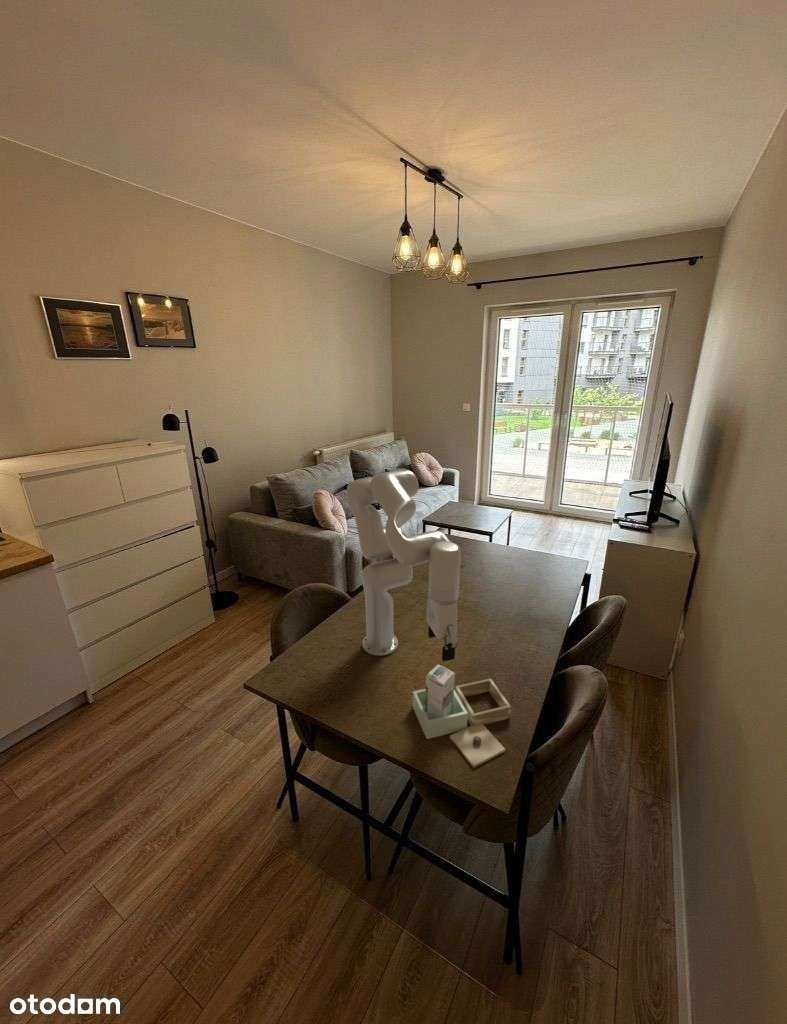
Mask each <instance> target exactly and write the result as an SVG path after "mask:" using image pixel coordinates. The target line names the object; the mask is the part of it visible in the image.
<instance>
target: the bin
mask: <svg viewBox="0 0 787 1024" xmlns="http://www.w3.org/2000/svg"><path fill="white" fill-rule="evenodd" d="M425 690H426V688H424V689H417V690H413V691H412V708H413V710H414V713H415V715H416V718H417V720H418V722H419V725H420V727H421V729H422V732H423V734H424V736H425V738H426V739H425V740H429V739H433V738H437V737H441V736H445V735H448V734H452V733H453V734H454V733H457V732H459V731H461V730H463V729H465V728H467V727H468V719H467V718H468V713H467V711H466V709H465V707H464V706H463V704H462V702H461V701H460V699H459V697H458V695H457V694H456V692H455V689H454V695H453V708H452V714H451V715H448V716H444V717H440V718H435V719H431V720H430V719H429V718H428V717H427V715H426V713H425Z"/></svg>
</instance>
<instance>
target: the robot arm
mask: <svg viewBox="0 0 787 1024" xmlns="http://www.w3.org/2000/svg"><path fill="white" fill-rule="evenodd" d="M419 487H420V486H419V481H418V478H417V476H416V475H415V473H414V472H413V471H411V470H409V469H401V470H400V469H399V470H393V471H386V472H385V471H384V472H380V473H378V474H376V475H374V476H369V477H363V478H359V479H355V480H353V481H351V482H350V483H349V484H348V485H347V487H346V491H345V492H346V494H345V495H346V500H347V505H348V506H349V509H350V511H351V513H352V515H353V517H354V521H355V524H356V525H355V526H356V531H357V536H358V540H359V546H360V552H361V553H362V556H363V557H364V558H365V559H366V560H375V559H380V558H384V557H385V558H386V557H388V556H390V557H391V556H392V558H391V559H387V560H381V561H378V562H374V563H373V562H372V563H370V564H368V565H366V566H365V567H364V568H363V569H362V570H361V575H360V576H361V582H362V587H363V593H364V603H365V606H364V607H365V631H366V632H365V633H366V635H365V636H364V638H363V639H362V643H361V645H362V649H363V650H364V652H366V653H368V654H369V655H372V656H376V657H379V656H387V655H390V654H392V653H394V652H395V651H396V650H397V648H398V646H399V639H398V638H397V636H396V635H395V634H394V629H395V628H394V600H393V597H392V595H391V594H390V593H389V592H388V591H389V590H393V589H394V588H398V587H402V586H406V585H408V584H410V582H412V580H413V577H414V576H413V575H414V572H413V567H414V566H417V565H421V564H425V563H428V585H427V589H428V590H427V593H428V594H427V599H426V611H425V620H426V622H427V623H428V629H427V630H428V633H427V635H428V638H429V639H432V638H437V639H438V640H442V643H443V646H442V651H441V660H442V661H443V662H447V661H452V660H454V659H455V655H456V648H457V647H458V644H459V639H458V637H457V632H458V602H457V601H458V599H459V593H460V576H461V575H460V574H461V560H462V559H461V558H462V549H461V547H460V546H459V545H458V544H456V543H455V542H452V541H451V540H450V538H449V537H448V536H447V535H446V534H445V533H444V532H443V531H441V530H437V529H436V530H431V531H426V532H421V533H415V534H412V535H406V533H405V531H404V530H403V529H402V528H401V527H402V526H403V525H405V524H406V523H408V522H409V521H410V520H411V519H412V518H413V516H414V515H415V513H416V511H417V504H416V502H415V501H414V500H413V498H412V497H414V496H416V495H417V494H418V491H419ZM372 504H379V506H380V508H381V509H382V510H383V512H384V513H385V515H386V516H387V517H388V518H387V521H386V523H385V527H384V526H383V521H382V516H381V513H380V512H379V511H378V509H376V507H375V506H374V505H372ZM447 633H448V635H447ZM449 638H450V642H447V639H449Z"/></svg>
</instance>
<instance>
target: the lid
mask: <svg viewBox="0 0 787 1024" xmlns="http://www.w3.org/2000/svg"><path fill="white" fill-rule="evenodd" d="M449 739H450V740H451V742H452V743H453V744H454V745H455V747H457V749H458V750H459V752H460V753H461V754H462V756H463V757H464V758H465V760H467V762H468V763H469V764H470V766H471V767H472V768H473V769H475V768H477V767H479V766H480V765H482V764H484V763H486V762H488V761H490V760H492V759H493V758H495V757H497V756H499V755H500V754H503V753H505V752H506V748H505V747H504V746H503V745H502V743H500V742H499V740H498V739H497V738H496V737H495V736H494V735H493V734H492V733H491V732H490V730H489V729H488V728H487V727H486V726H485V725H483V724H482V723H480V724H476V725H470V726H467V728H465V729H463V730H461V731H457V732H453V734H452V733H451V735H449Z"/></svg>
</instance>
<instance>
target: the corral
mask: <svg viewBox="0 0 787 1024" xmlns="http://www.w3.org/2000/svg"><path fill="white" fill-rule="evenodd" d="M454 690H455V692H456V694H457V695H458V697H459V699H460V701H461V702H462V704H463V706H464V707H465V709H466V711H467V713H468V718H467V722H468V723H469V724H470V726H471V725H476V724H480V723H482V724H483V725H484V726H485V725H489V724H492V723H493V724H494V723H497V722H500V721H504V720H505V721H506V720H508V719H511V715H512V714H511V711H512V706H511V704H510V702H509V701H508V700H507V699H506V697H505V696H504V695H503V693H502V692H501V690H500V689H499V688H498V686H497V685H496V684H495V682H494V681H493V679H492V678H486V679H483V680H482V679H481V680H477V681H474V682H468V683H464V684H460V685H459V684H458V685H454ZM487 692H489V695H491V697H492V698H493V700H494V701H495V703H496V704H497V706H498V707H494V708H491V709H487V710H483V711H479V712H474V710H473V708H472V707H471V706H470V703H469V701H467V698H466V697H470V696H475V695H479V694H482V693H487Z"/></svg>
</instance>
